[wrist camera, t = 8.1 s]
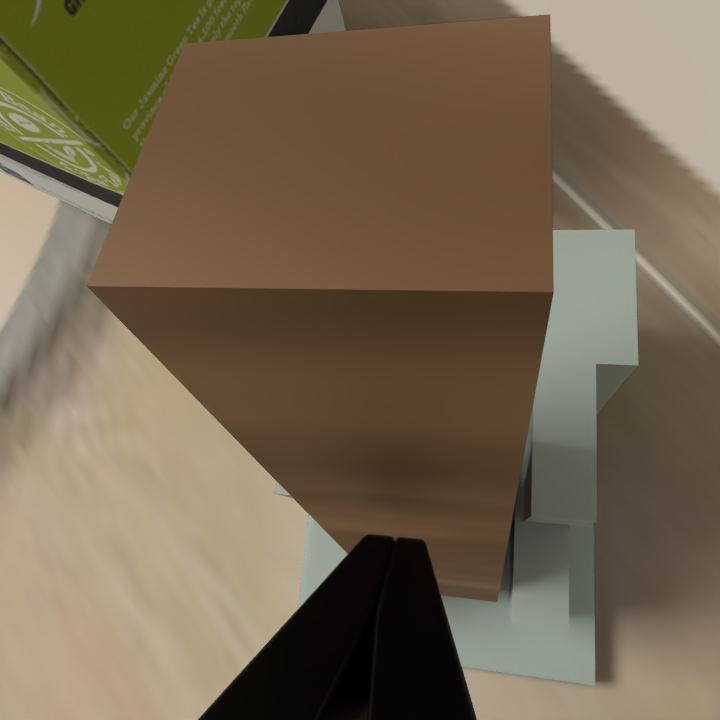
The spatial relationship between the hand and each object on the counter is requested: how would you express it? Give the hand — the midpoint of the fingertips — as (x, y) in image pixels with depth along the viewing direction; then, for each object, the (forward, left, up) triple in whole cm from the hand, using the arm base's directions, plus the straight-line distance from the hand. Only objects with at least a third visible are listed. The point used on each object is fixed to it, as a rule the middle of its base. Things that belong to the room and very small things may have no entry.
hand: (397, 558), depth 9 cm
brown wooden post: (0, 0, -8) cm, 8 cm away
